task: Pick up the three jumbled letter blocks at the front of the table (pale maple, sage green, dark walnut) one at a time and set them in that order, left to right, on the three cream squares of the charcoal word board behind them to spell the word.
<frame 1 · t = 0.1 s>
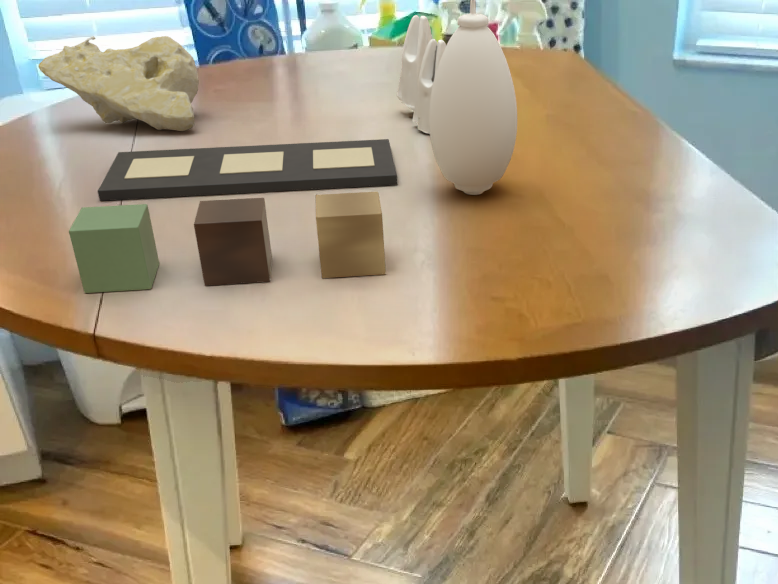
maple block: (352, 264, 77), on the table
green block: (123, 278, 75), on the table
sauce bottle: (473, 193, 91), on the table
word board: (254, 173, 96), on the table
walnut block: (239, 271, 76), on the table
shaker set: (427, 124, 110), on the table
beige rock: (130, 128, 110), on the table
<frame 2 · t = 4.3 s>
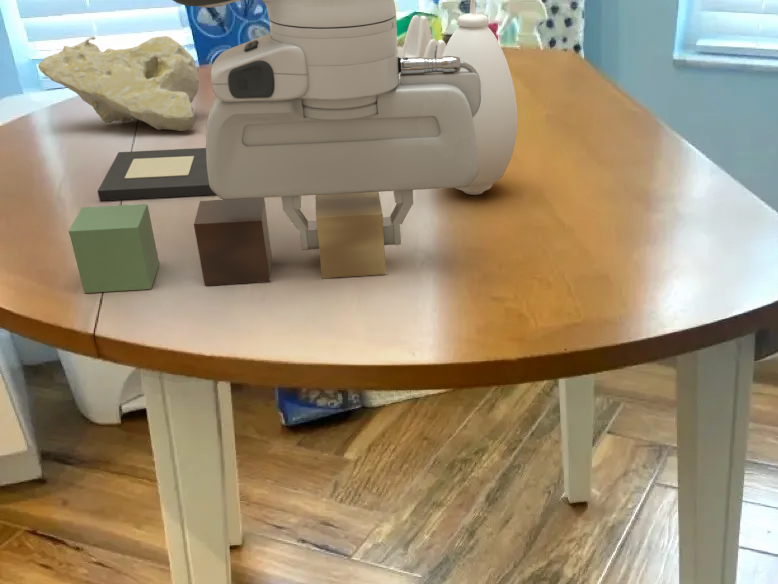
hand: (350, 244, 76), 2 cm above the table, tool pointing down, fingers closed on maple block, 5 cm apart
maple block: (353, 264, 77), on the table, touching gripper
everything else where it was.
when the fingers open (2 cm above the table, at t = 10.9 s): maple block stays where it is, resting on word board.
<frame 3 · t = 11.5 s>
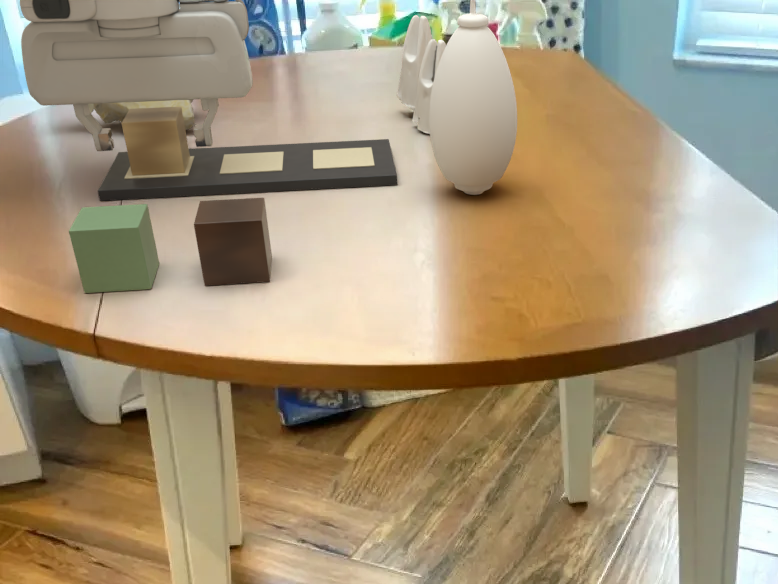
hand: (155, 147, 93), 3 cm above the table, tool pointing down, fingers open, 8 cm apart
maple block: (161, 166, 95), point 1 cm above the table, touching word board
everything else where it was.
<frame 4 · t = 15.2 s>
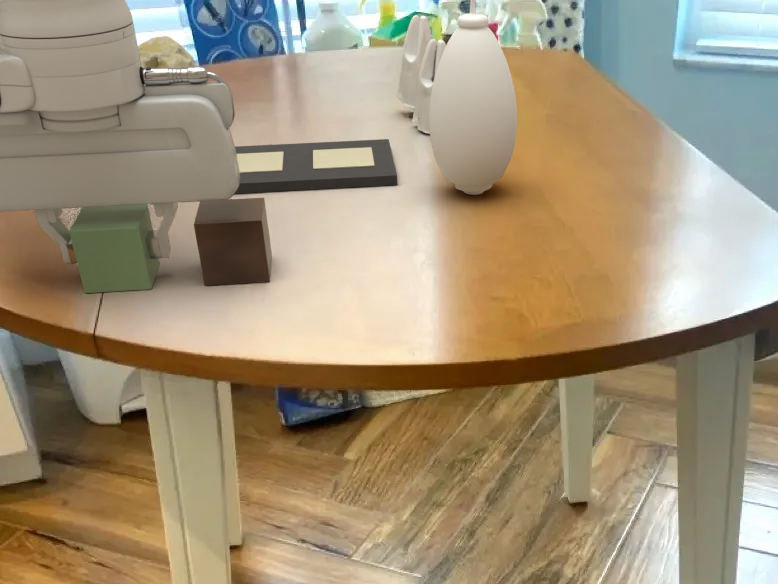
hand: (118, 258, 74), 2 cm above the table, tool pointing down, fingers closed on green block, 5 cm apart
green block: (123, 278, 75), on the table, touching gripper
everything else where it was.
when the fingers open (3 cm above the table, at t = 21.7 s): green block stays where it is, resting on word board.
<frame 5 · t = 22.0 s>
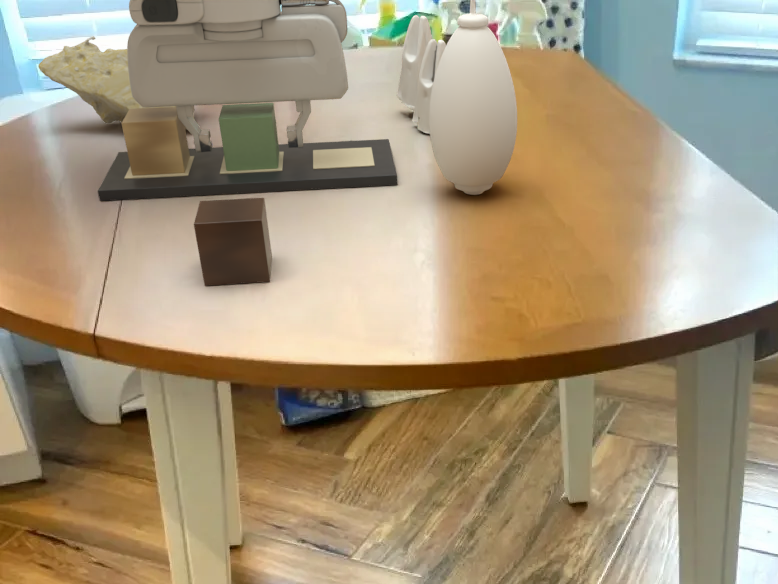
hand: (250, 148, 95), 2 cm above the table, tool pointing down, fingers open, 8 cm apart
maple block: (161, 166, 95), point 1 cm above the table, touching gripper, word board
green block: (253, 161, 96), point 1 cm above the table, touching word board
everything else where it was.
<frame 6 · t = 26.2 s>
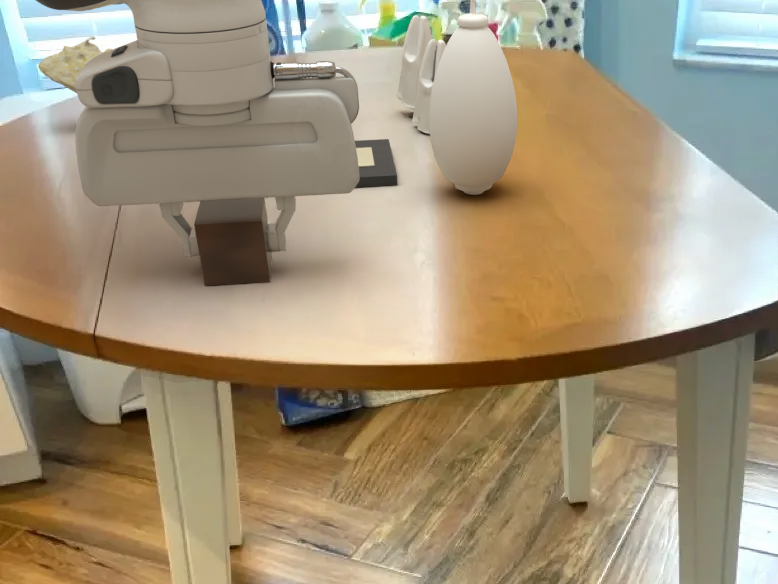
hand: (236, 251, 75), 2 cm above the table, tool pointing down, fingers closed on walnut block, 5 cm apart
maple block: (161, 166, 95), point 1 cm above the table, touching word board
walnut block: (239, 271, 76), on the table, touching gripper
everything else where it was.
when the fingers open (3 cm above the table, at t = 32.6 s): walnut block stays where it is, resting on word board.
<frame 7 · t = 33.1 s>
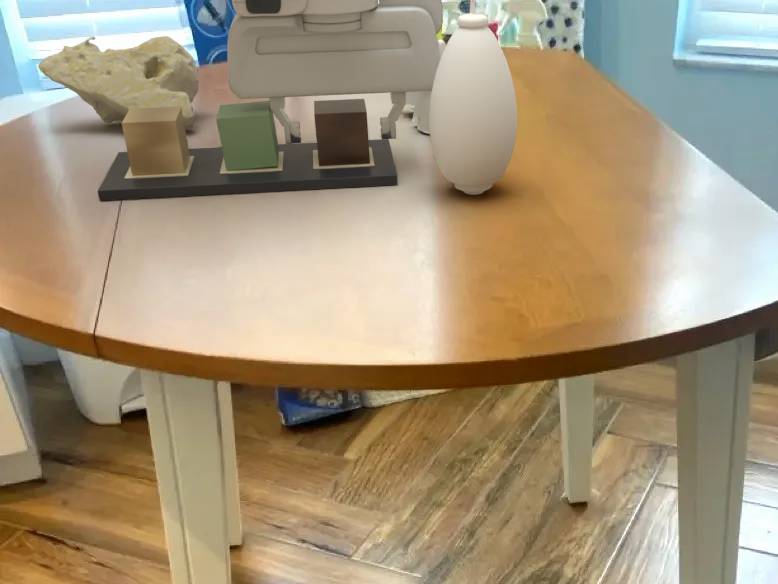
hand: (341, 139, 95), 3 cm above the table, tool pointing down, fingers open, 8 cm apart
green block: (253, 160, 96), point 1 cm above the table, touching gripper, word board
walnut block: (344, 157, 96), point 1 cm above the table, touching word board
everything else where it was.
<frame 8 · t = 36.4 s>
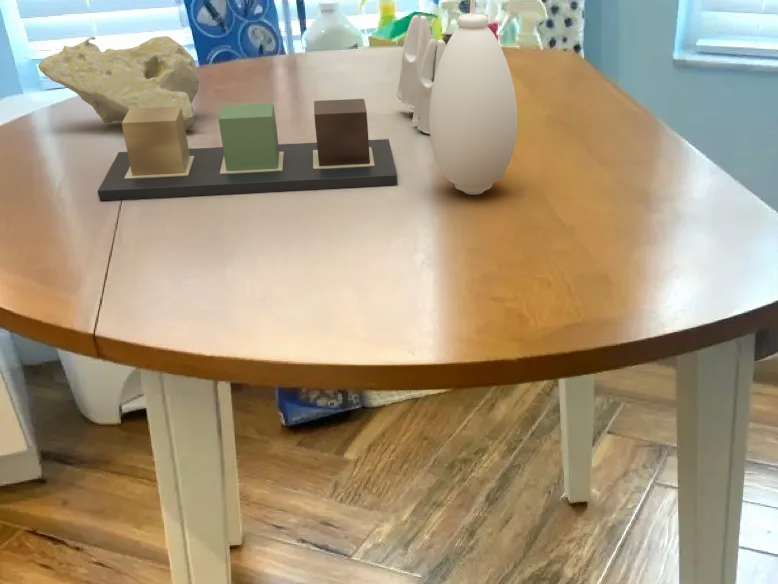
green block: (253, 161, 96), point 1 cm above the table, touching word board
everything else where it was.
at the end: maple block 0.1 cm from the target spot on the word board, point 1.1 cm above the word board's base; green block 0.1 cm off-centre on the word board, point 1.1 cm above the word board's base; walnut block 0.1 cm from the target spot on the word board, point 1.1 cm above the word board's base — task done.
